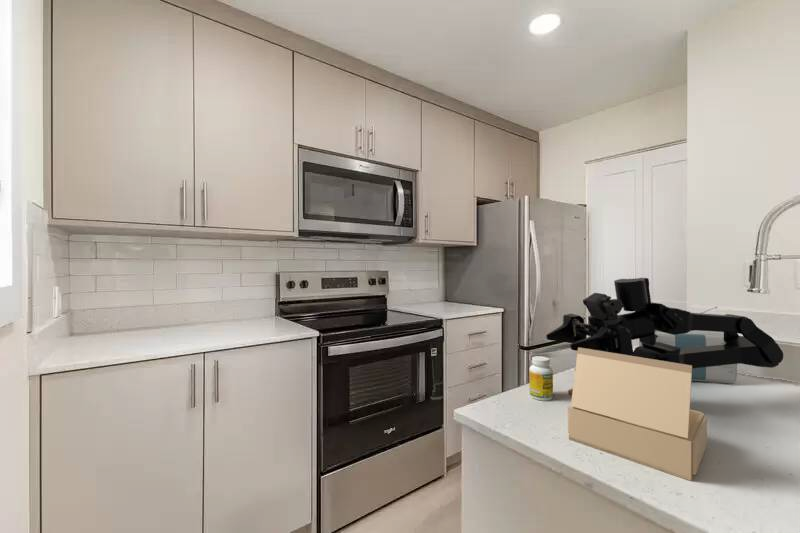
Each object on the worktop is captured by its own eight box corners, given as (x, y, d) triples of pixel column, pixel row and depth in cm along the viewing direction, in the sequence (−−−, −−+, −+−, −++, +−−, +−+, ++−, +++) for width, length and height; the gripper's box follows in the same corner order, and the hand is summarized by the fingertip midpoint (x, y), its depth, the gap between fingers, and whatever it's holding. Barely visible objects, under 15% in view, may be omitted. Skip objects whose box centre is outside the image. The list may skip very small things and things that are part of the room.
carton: (593, 414, 78) (593, 387, 78) (707, 446, 64) (707, 413, 64) (566, 438, 68) (566, 406, 68) (694, 482, 54) (694, 443, 54)
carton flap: (578, 347, 70) (578, 347, 69) (692, 365, 57) (691, 365, 57) (571, 406, 67) (570, 405, 67) (688, 438, 55) (687, 438, 55)
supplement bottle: (538, 391, 92) (538, 354, 92) (557, 398, 87) (557, 358, 87) (524, 396, 89) (524, 357, 89) (544, 403, 84) (543, 362, 84)
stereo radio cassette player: (645, 380, 99) (645, 307, 99) (635, 371, 107) (635, 304, 106) (739, 386, 93) (739, 309, 93) (721, 376, 101) (721, 305, 100)
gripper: (590, 288, 88) (531, 300, 86) (653, 296, 69) (579, 311, 68) (597, 332, 88) (538, 345, 86) (661, 352, 70) (588, 369, 68)
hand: (558, 341), depth 77 cm, fingers open, 9 cm apart
